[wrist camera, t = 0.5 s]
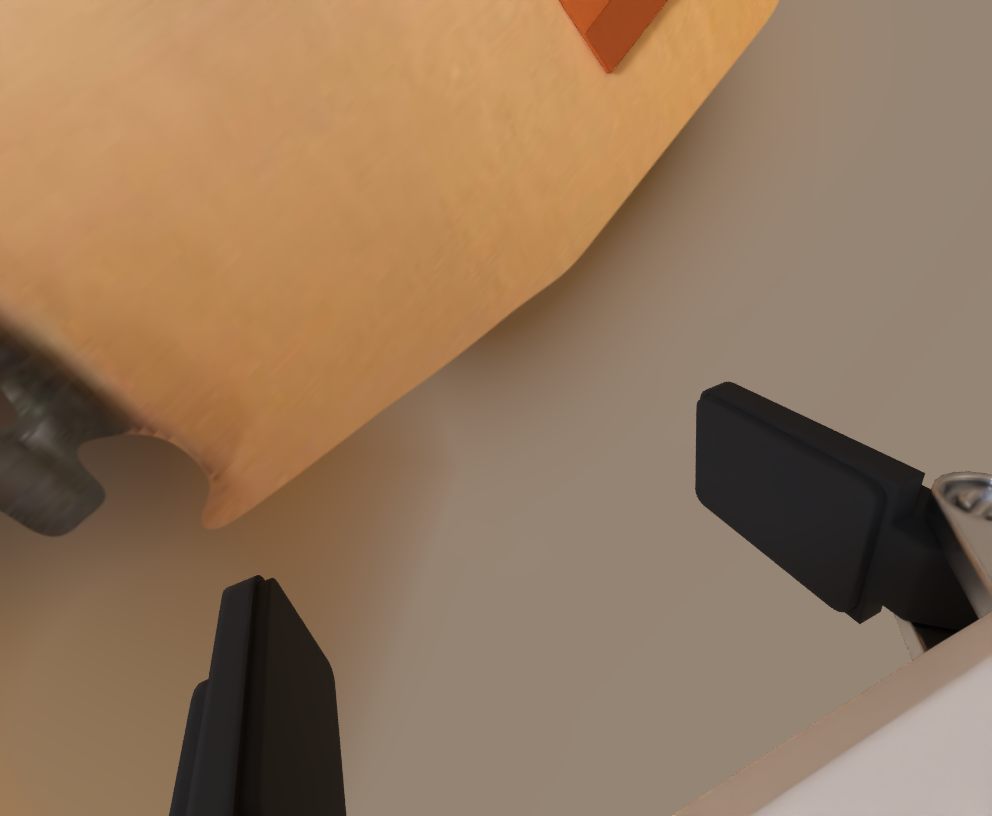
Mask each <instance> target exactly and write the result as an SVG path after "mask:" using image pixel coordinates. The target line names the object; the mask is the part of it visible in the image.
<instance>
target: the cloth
mask: <svg viewBox="0 0 992 816" xmlns="http://www.w3.org/2000/svg"><path fill="white" fill-rule="evenodd" d="M559 1H560V2H561V4H562V5H563V7H564V8H565V10H566V11H567V13H568V14H569V16H570V17H571V19H572V21H573V22H574V24H575V25H576V27H577V28H578V30H579V31H580V33H581V34H582V36H583V37H584V39H585V40H586V42H587V43H588V45H589V47H590V48H591V50H592V51H593V53H594V54H595V56H596V57H597V59H598V60H599V62H600V63H601V65H602V66H603V68H604V69H605V71H606V73H610V72H612V71H613V70H614V69H615V67H616V66H617V65H618V64H619V62H620V61H621V60H622V58H623V57H624V56H625V55H626V53H627V52H628V51H629V49H630V48H631V47H632V46H633V44H634V43H635V42H636V40H637V39H638V38H639V37H640V35H641V34H642V33H643V31H644V30H645V29H646V28H647V26H648V25H649V24H650V22H651V21H652V20H653V19H654V17H655V16H656V15H657V13H658V12H659V11H660V10H661V8H662V7H663V6H664V4H665V3H666V2H667V1H668V0H559Z"/></svg>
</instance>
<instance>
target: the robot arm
mask: <svg viewBox="0 0 992 816" xmlns="http://www.w3.org/2000/svg"><path fill="white" fill-rule="evenodd" d="M924 475H925V473H924V472H921V471H919V470H917V469H915V468H913V467H911V466H909V465H907V464H904V463H902V462H900V461H898V460H896V459H894V458H891V457H890V456H887V455H885V454H883V453H881V452H879V451H877V450H875V449H873V448H870V447H868V446H866V445H864V444H862V443H860V442H858V441H856V440H853V439H851V438H849V437H847V436H845V435H843V434H841V433H839V432H837V431H834V430H832V429H830V428H828V427H826V426H824V425H822V424H820V423H817V422H815V421H813V420H811V419H809V418H807V417H805V416H803V415H800V414H798V413H796V412H794V411H791V410H790V409H788V408H786V407H783V406H781V405H779V404H777V403H775V402H773V401H771V400H769V399H766V398H764V397H762V396H760V395H758V394H756V393H754V392H752V391H750V390H747V389H745V388H743V387H741V386H739V385H737V384H735V383H732V382H724V383H721V384H719V385H717V386H714V387H712V388H709V389H707V390H705V391H703V393H702V394H701V397H700V400H699V401H698V402H697V412H696V487H695V490H696V494H697V497H698V499H699V500H700V502H701V503H702V504H703V505H704V506H705V507H707V508H708V509H709V510H710V511H712V512H713V513H714V514H715V515H716V516H718V517H719V518H720V519H721V520H723V521H724V522H725V523H726V524H728V525H729V526H730V527H731V528H733V529H734V530H735V531H736V532H738V533H739V534H740V535H741V536H743V537H744V538H745V539H746V540H747V541H749V542H750V543H751V544H753V545H754V546H755V547H756V548H757V549H759V550H760V551H761V552H762V553H764V554H765V555H766V556H768V557H769V558H770V559H771V560H773V561H774V562H775V563H776V564H777V565H779V566H780V567H781V568H782V569H784V570H785V571H786V572H788V573H789V574H790V575H791V576H792V577H794V578H795V579H796V580H797V581H799V582H800V583H801V584H802V585H804V586H805V587H806V588H807V589H809V590H810V591H811V592H812V593H814V594H815V595H816V596H817V597H819V598H820V599H821V600H822V601H824V602H825V603H826V604H827V605H829V606H830V607H831V608H833V609H834V610H836V611H839V612H845V613H846V614H848V615H849V616H850V617H852V618H853V619H854V620H855V621H857V622H858V623H859V624H861V623H863V622H864V621H866V620H868V619H869V618H871V617H872V616H874V615H876V614H877V613H879V612H881V609H882V606H885V607H886V608H887V609H889V610H890V611H892V612H893V613H894V615H895V618H896V620H897V623H898V625H899V628H900V631H901V633H902V636H903V639H904V641H905V644H906V646H907V649H908V651H909V654H910V656H911V659H912V661H911V662H909V663H908V664H906V665H905V666H903V667H902V668H900V669H898V670H897V671H895V672H894V673H892V674H891V675H889V676H887V677H886V678H884V679H883V680H881V681H880V682H878V683H876V684H875V685H873V686H872V687H870V688H869V689H867V690H865V691H864V692H862V693H861V694H859V695H858V696H856V697H854V698H853V699H851V700H850V701H848V702H847V703H845V704H843V705H842V706H840V707H839V708H837V709H836V710H834V711H832V712H831V713H829V714H828V715H826V716H825V717H823V718H821V719H820V720H818V721H817V722H815V723H814V724H812V725H811V726H809V727H808V728H806V729H804V730H803V731H801V732H800V733H798V734H797V735H795V736H793V737H792V738H791V739H789V740H787V741H786V742H785V743H783V744H781V745H779V746H778V747H776V748H775V749H773V750H772V751H770V752H769V753H767V754H766V755H764V756H762V757H761V758H759V759H758V760H756V761H755V762H753V763H752V764H750V765H748V766H747V767H745V768H744V769H742V770H741V771H739V772H738V773H736V774H735V775H733V776H731V777H730V778H729V779H727V780H725V781H724V782H722V783H721V784H719V785H718V786H716V787H714V788H713V789H711V790H710V791H708V792H707V793H705V794H704V795H702V796H700V797H699V798H697V799H696V800H694V801H693V802H691V803H690V804H688V805H686V806H685V807H683V808H682V809H680V810H679V811H677V812H676V813H675V814H673V815H671V816H992V475H991V474H986V473H977V472H969V471H968V472H952V473H949V474H945V475H942V476H940V477H939V478H937V479H936V480H935V481H934V483H933V486H932V488H931V489H929V488H927V487H925V486H923V485H922V481H923V478H924ZM169 816H346V807H345V795H344V784H343V773H342V760H341V750H340V737H339V725H338V714H337V703H336V690H335V680H334V675H333V671H332V668H331V666H330V663H329V661H328V660H327V658H326V657H325V655H324V654H323V652H322V650H321V649H320V647H319V646H318V644H317V643H316V641H315V640H314V638H313V637H312V635H311V633H310V632H309V630H308V629H307V627H306V626H305V624H304V622H303V621H302V619H301V618H300V616H299V615H298V613H297V612H296V610H295V608H294V607H293V605H292V604H291V602H290V601H289V599H288V598H287V596H286V594H285V593H284V591H283V590H282V588H281V587H280V585H279V583H278V582H277V581H276V580H275V579H274V578H271V579H268V580H266V581H265V580H264V578H263V577H261V576H260V575H257V576H254V577H252V578H249V579H247V580H244V581H242V582H240V583H237V584H235V585H232V586H230V587H228V588H226V589H225V590H224V591H223V594H222V599H221V605H220V611H219V618H218V624H217V630H216V636H215V642H214V648H213V654H212V660H211V666H210V672H209V679H207V680H205V681H203V682H201V683H199V684H198V685H197V687H196V688H195V690H194V692H193V696H192V699H191V703H190V709H189V714H188V719H187V724H186V729H185V735H184V740H183V745H182V750H181V756H180V761H179V766H178V772H177V777H176V782H175V787H174V792H173V798H172V804H171V808H170V813H169Z"/></svg>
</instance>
